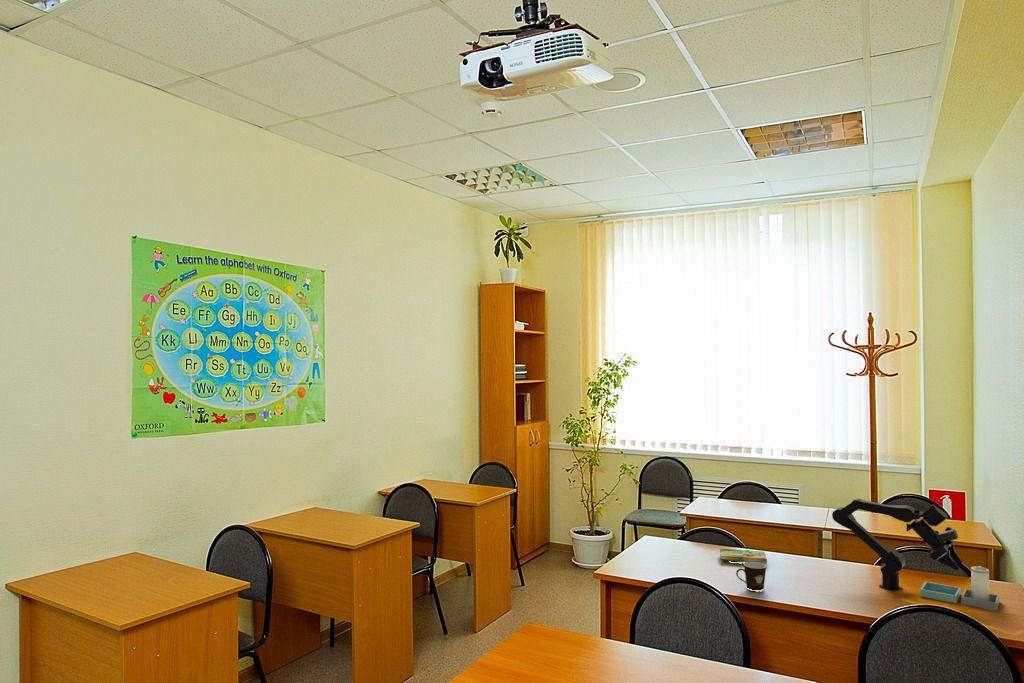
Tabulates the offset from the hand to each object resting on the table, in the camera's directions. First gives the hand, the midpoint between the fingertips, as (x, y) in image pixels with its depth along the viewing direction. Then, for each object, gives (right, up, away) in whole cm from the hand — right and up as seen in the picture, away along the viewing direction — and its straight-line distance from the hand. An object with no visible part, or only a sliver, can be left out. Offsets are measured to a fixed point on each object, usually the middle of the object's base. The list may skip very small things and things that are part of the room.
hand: (960, 566), depth 264 cm
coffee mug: (-76, -14, +14) cm, 79 cm away
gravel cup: (+5, -13, -4) cm, 14 cm away
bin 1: (-5, -14, +4) cm, 15 cm away
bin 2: (+5, -13, -4) cm, 15 cm away
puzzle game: (-67, -15, +51) cm, 86 cm away
